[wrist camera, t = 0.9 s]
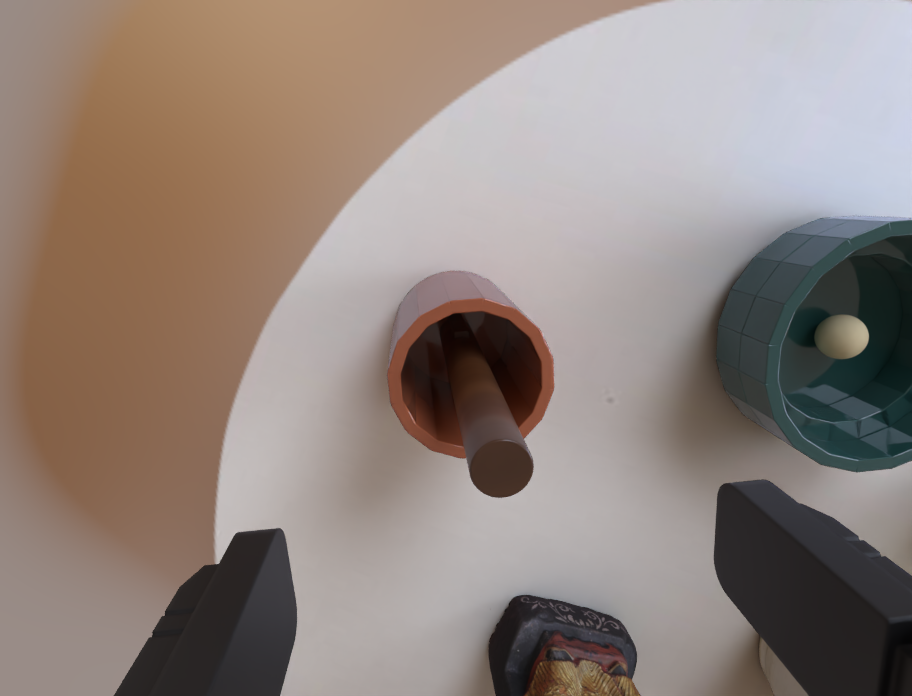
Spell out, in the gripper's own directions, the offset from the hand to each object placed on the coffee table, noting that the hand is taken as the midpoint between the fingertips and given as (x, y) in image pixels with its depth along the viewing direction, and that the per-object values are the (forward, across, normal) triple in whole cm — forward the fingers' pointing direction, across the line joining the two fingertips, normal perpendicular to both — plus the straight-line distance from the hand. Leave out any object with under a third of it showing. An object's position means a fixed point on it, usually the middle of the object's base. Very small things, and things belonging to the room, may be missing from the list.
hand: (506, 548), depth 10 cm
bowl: (+25, -25, +4) cm, 36 cm away
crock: (+25, -1, +2) cm, 25 cm away
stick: (+25, -1, +2) cm, 25 cm away
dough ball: (+23, -25, +4) cm, 34 cm away
